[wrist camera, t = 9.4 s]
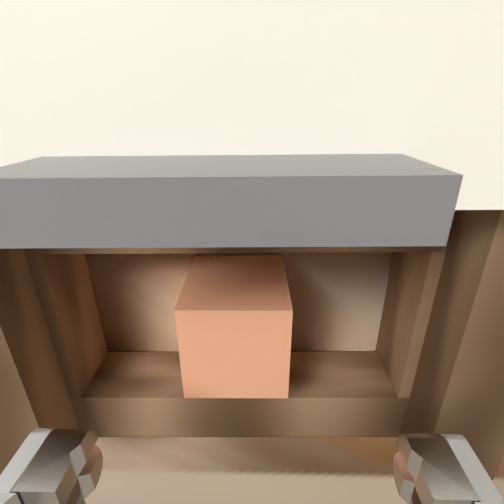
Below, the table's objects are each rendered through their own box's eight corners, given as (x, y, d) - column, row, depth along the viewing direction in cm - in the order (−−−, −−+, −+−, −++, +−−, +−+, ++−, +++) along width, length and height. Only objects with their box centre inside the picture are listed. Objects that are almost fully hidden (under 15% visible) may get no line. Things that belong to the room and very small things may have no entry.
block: (201, 326, 17) (183, 397, 13) (195, 255, 15) (173, 310, 11) (279, 326, 17) (288, 398, 13) (282, 255, 15) (292, 310, 11)
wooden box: (53, 387, 19) (-12, 479, 14) (-57, 57, 12) (-247, 28, 8) (432, 387, 18) (491, 480, 14) (528, 50, 12) (698, 17, 7)
